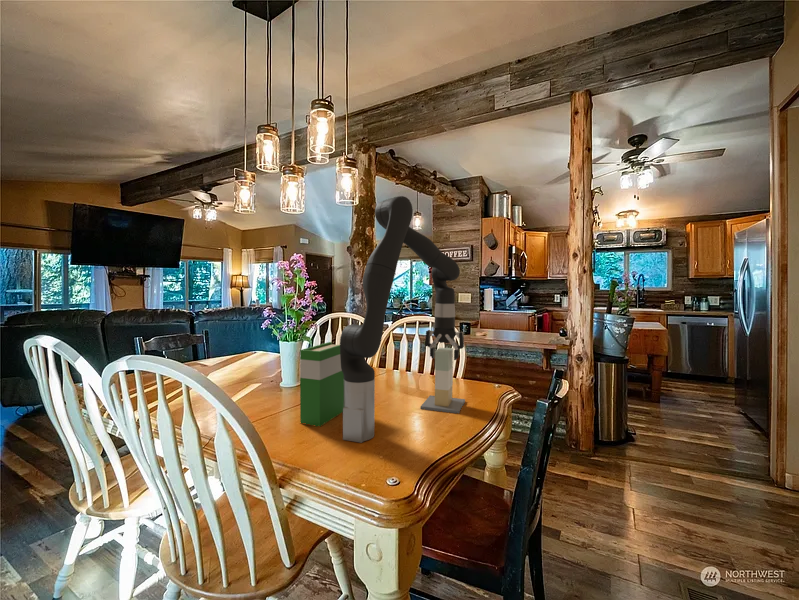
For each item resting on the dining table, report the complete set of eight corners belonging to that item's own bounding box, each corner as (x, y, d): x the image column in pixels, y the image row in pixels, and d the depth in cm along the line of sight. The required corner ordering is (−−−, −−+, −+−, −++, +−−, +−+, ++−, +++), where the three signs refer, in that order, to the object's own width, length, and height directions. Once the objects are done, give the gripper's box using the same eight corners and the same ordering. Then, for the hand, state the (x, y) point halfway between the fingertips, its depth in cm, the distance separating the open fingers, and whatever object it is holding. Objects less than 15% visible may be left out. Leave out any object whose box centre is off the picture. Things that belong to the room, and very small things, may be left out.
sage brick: (448, 371, 134) (448, 352, 133) (434, 370, 135) (435, 351, 135) (452, 366, 141) (452, 348, 141) (439, 365, 143) (440, 347, 142)
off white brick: (448, 390, 134) (448, 371, 133) (435, 389, 135) (435, 370, 135) (452, 384, 141) (452, 366, 141) (439, 383, 143) (440, 365, 143)
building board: (458, 413, 130) (459, 394, 129) (420, 409, 134) (420, 390, 134) (465, 401, 143) (465, 383, 143) (430, 397, 148) (430, 380, 147)
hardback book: (329, 406, 136) (329, 342, 135) (347, 409, 134) (347, 343, 132) (300, 423, 120) (300, 350, 119) (319, 426, 117) (319, 351, 116)
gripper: (423, 315, 136) (423, 359, 137) (462, 317, 131) (461, 362, 132) (428, 314, 143) (428, 355, 144) (465, 315, 138) (464, 358, 139)
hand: (444, 358), depth 138 cm, fingers open, 8 cm apart
